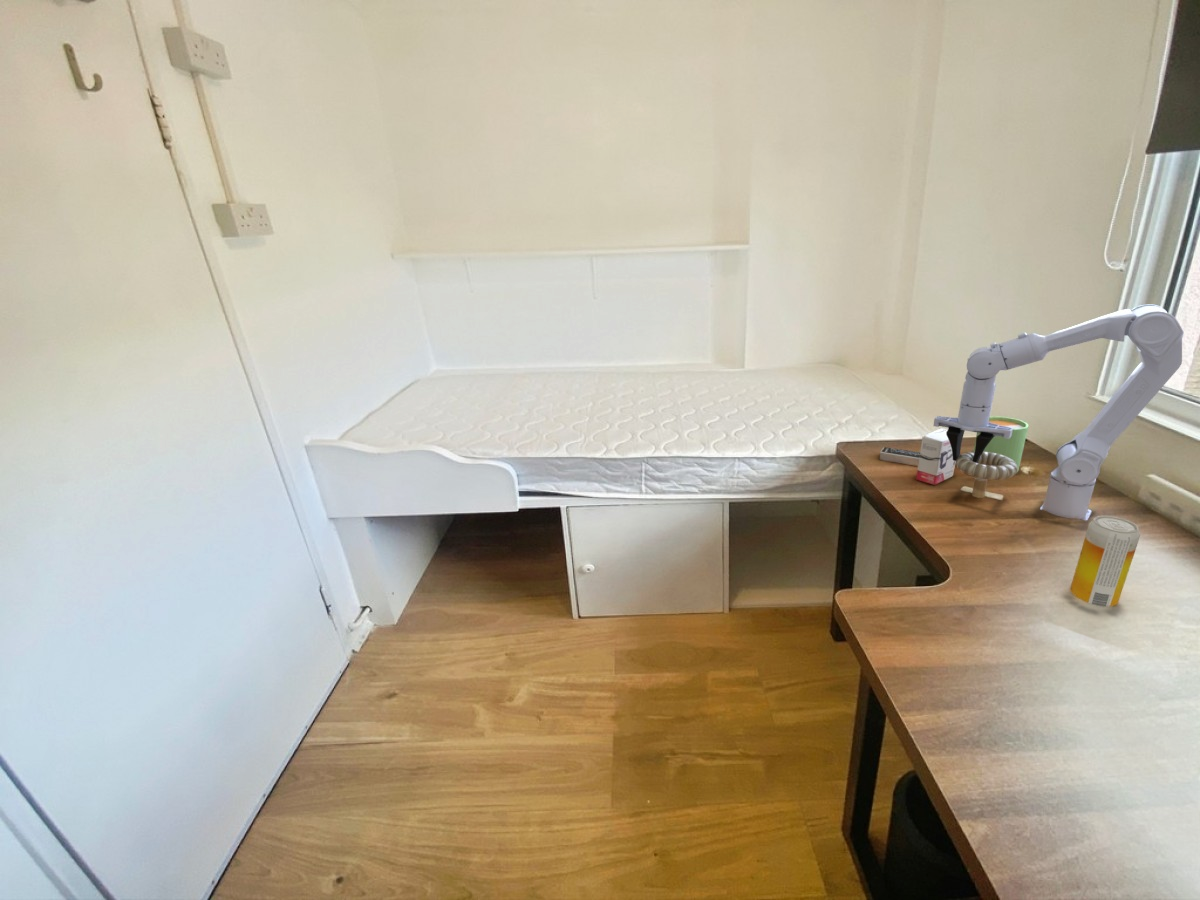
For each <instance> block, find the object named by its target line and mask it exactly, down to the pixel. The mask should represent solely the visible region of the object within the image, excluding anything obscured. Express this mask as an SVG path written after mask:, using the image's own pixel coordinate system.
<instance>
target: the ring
mask: <svg viewBox="0 0 1200 900" xmlns="http://www.w3.org/2000/svg"><path fill="white" fill-rule="evenodd" d="M974 453H975V452H973V451H968V452H963V453H960V456H959V457H958V458H957V460H956V462H955V466H956V467H957V469H958V470H959V471H960V472H962V473H964V474H965V475H968V476H970V477H974V478H975V477H977V478H982V479H988V480H989V481H990V480H991V481H999V480H1000V481H1001V480H1007V479H1011V478H1013V477H1014V476H1015V475H1016V474H1017V473H1018V472H1019V471H1018V466H1017V464H1016V463H1015V461H1013V460H1012V459H1010V458H1008V457H1006V456H1003V455H1000V454H996V453H991V452H983V453H982V454H981V456H980V459H979V462H978V463H975V462H973V457H974ZM1017 471H1018V472H1017ZM1016 472H1017V473H1016Z"/></svg>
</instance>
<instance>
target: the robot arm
mask: <svg viewBox="0 0 1200 900" xmlns="http://www.w3.org/2000/svg"><path fill="white" fill-rule="evenodd" d="M1184 334H1185V332H1184V329H1183V328H1182V326H1181V325H1180V323H1179V320H1178V319H1177V318H1176V317H1175V315H1173V314H1171V313H1170V312H1167V310H1166V309H1165V308H1164V307H1162V306H1160V305H1157V304H1149V303H1148V304H1142V305H1137V306H1134V307H1133V308H1132V309H1130V308H1126V309H1121V310H1117V311H1114V312H1111V313H1108V314H1105V315H1101V316H1099V317H1095V318H1092V319H1089V320H1087V321H1084V322H1081V323H1078V324H1076V325H1073V326H1069V327H1067V328H1064V329H1061V330H1057V331H1055V332H1052V333H1049V334H1047V335H1040V334H1038V333H1035V332H1031V333H1026V332H1021V333H1019V334H1017V337H1016V338H1012V339H1009V340H1005V341H1003V342H1000V343H997V342H993V343H990V346H989V347H988V346H982V347H978V348H976V349H974V350H973V351H972V352H971V353H970V354H969V356H968V358H967V362H966V370H967V372H966V374H965V376H964V377H965V378H964V379H965V380H964V382H963V386H962V391H961V397H960V404H959V408H958V414H957V417H953V416H952V417H951V416H941V415H936V417H934V418H933V419H934V420H933V427H936V428H937V427H938V428H939V427H942V428H947V430H948V431H947V432H946V435H947V437H948V439H949V442H950V444H951V448H952V454H953V460H954V461H956V460H957V458H958V457H959V456H960V455H961V448H962V442H963V438H964V434H965V432H971V433H972V432H973V433H976V434H977V433H980V435H978V436H977V437H976V436H975V440H976V447H975V453H974V457H973V462H975V463H978V462H979V459H980V456H981V454H982V453H983V451H984V449H985V448H986V446H987V445H988V444H989V442H990V441H991V440H992V439H993V437H994V436H1000V437H1003V438H1006V439H1009V438H1010V437H1011V436H1012V431H1013V428H1010V427H1005V426H1001V425H997V424H993V423H990V422H989V417H991V412H992V406H993V402H994V396H995V391H996V386H997V385H996V378H997V375H998V374H999V372H1000V371H1009V370H1012V369H1016V368H1019V367H1023V366H1026V365H1029V364H1032V363H1033V364H1034V363H1037V362H1039V361H1043V360H1044V359H1045V357H1046V356H1047V354H1049V352H1052V351H1055V350H1060V349H1061V350H1062V349H1065V348H1068V347H1071V346H1075V345H1080V344H1083V343H1088V342H1092V341H1095V340H1099V339H1104V340H1111V341H1117V342H1122V343H1123V342H1125V336H1127V337H1128V338H1129V339H1130V341H1131V342H1132V343H1133V344H1134V345H1135V349H1136V350H1137V354H1138V355H1139V358H1140V363H1139V364H1137V366H1136V367H1135V369H1133V371H1132V372H1131V373H1130V375H1129V376H1128V377H1127V378H1126V379H1125V381H1124V382H1123V383H1122V384H1121V385H1120V387H1119V388H1118V389H1117V390H1116V391H1115V393H1114V394H1113V395H1112V396H1111V397H1110V398H1109V400H1108V401H1107V402H1106V403H1105V405H1104V406H1103V407H1102V408H1101V410H1100V411H1099V412H1098V414H1096V416H1094V418H1093V419H1092V420H1091V422H1089V424H1088V425H1087V427H1086V428H1085V429H1084V430H1082V431H1081V432H1078V433H1077V434H1076V435H1075V436H1074V437H1073V438H1072V439H1071V440H1069V441H1068V442H1065V443H1063V444H1062V445H1060V447H1058V448H1057V450H1056V452H1055V459H1056V462H1057V466H1056V468H1055V469H1053V470H1052V471H1051V472H1050V476H1049V480H1048V484H1047V487H1046V493H1045V497H1044V500H1043V503H1042V505H1041V506H1040V507H1039V510H1041V511H1045V512H1047V513H1049V514H1051V515H1053V516H1056V517H1060V518H1065V519H1074V520H1075V519H1076V520H1077V519H1079V520H1083V521H1088V520H1089V518H1090V516H1091V514H1092V509H1089V507H1090V503H1091V499H1092V496H1093V492H1094V489H1095V486H1096V482H1097V478H1098V477H1099V475H1100V473H1101V471H1100V470H1101V466H1102V464H1103V463H1104V462H1105V460H1106V459H1107V457H1108V454H1109V452H1110V450H1111V447H1112V446H1113V444H1115V442H1116V441H1117V440H1118V439H1119V437H1120V436H1121V435H1122V434H1123V433H1124V432H1125V430H1127V428H1128V427H1129V426H1130V425H1131V423H1132V422H1133V421H1134V420H1136V418H1137V417H1138V416H1139V415H1140V414H1141V412H1142V411H1143V410H1144V409H1145V407H1147V406H1148V405H1149V403H1150V402H1151V401H1152V400H1153V398H1154V397H1155V396H1156V395H1158V393H1159V392H1160V391H1161V390H1162V389H1163V387H1164V386H1165V385H1166V384H1167V382H1169V380H1170V379H1171V378H1172V377H1173V376H1174V374H1175V373H1176V372H1177V371H1178V370H1179V369H1180V368H1181V365H1182V364H1183V337H1184Z"/></svg>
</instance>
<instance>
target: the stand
mask: <svg viewBox="0 0 1200 900" xmlns="http://www.w3.org/2000/svg"><path fill="white" fill-rule="evenodd" d="M988 481H989V479H982V478H977V477H974V482H973V486H972V487H969V486H966V485H964V486H962V487H961V488H960V490H959V491H962V492H966V493H971V496H972V497H974V498H978V499H983V498H985V497H987V498H991V499H996V500H1000V501H1003V499H1004V495H1003V494H999V493H995V492H991V491H987V486H988V483H989V482H988Z"/></svg>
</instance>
